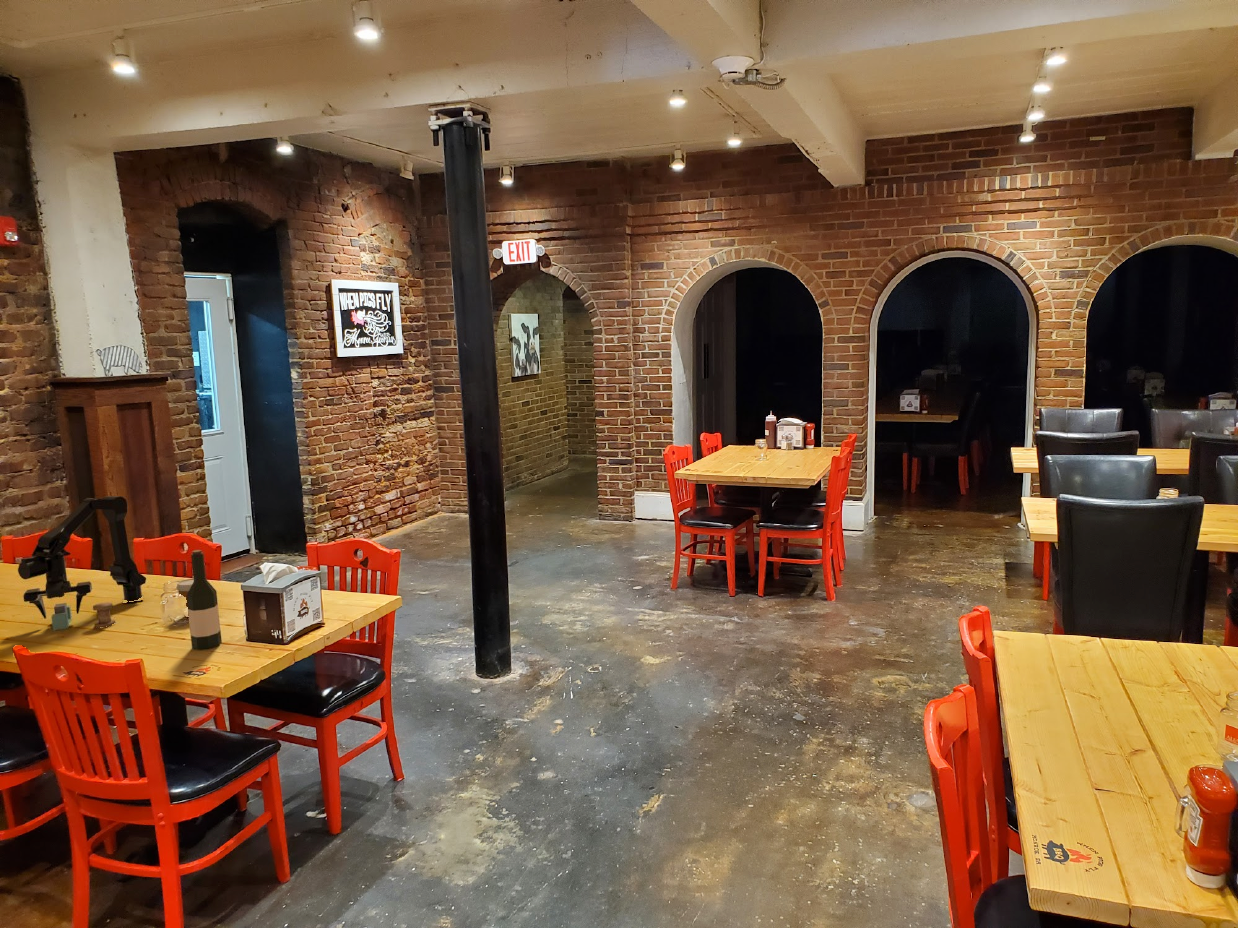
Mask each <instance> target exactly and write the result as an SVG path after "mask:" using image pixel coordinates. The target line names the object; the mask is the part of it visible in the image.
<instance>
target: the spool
mask: <svg viewBox="0 0 1238 928" xmlns="http://www.w3.org/2000/svg"><path fill="white" fill-rule="evenodd" d="M112 608H113V602H100V603H97V604H94V605H93V606H92V610H93V611H96V614H97V622H94V628H95V627H97V628H96V629H101V628H100V627H105V628H107V627H106V626H110V625H112V624H114V623H116V619H113V618H111V610H110V609H112ZM110 627H111V626H110Z"/></svg>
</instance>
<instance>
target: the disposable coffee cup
mask: <svg viewBox="0 0 1238 928" xmlns="http://www.w3.org/2000/svg"><path fill="white" fill-rule="evenodd" d="M193 582H194V578H193V577H192V578H187V579H182V580H180V581H178V582H177V583H176V584H177V585H176V586H175V587H176V588H175V589H177V592H178V595H179V594H181V595H183V596H184V597H186V596H187V594H188V592H189V590H190V588H191V586H192V584H193ZM186 600H187V598H186ZM186 606H187V603H186Z"/></svg>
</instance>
